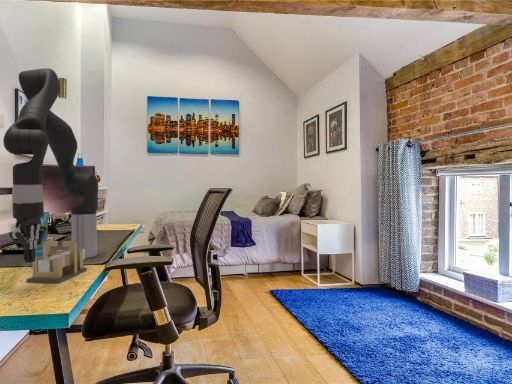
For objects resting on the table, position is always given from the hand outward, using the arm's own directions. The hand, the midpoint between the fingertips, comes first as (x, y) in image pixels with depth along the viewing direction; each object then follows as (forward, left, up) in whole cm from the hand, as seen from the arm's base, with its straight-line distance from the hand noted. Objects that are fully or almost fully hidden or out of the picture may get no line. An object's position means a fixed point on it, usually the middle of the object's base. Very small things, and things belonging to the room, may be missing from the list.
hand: (29, 261), depth 106 cm
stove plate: (-14, 0, -8) cm, 16 cm away
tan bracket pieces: (-14, 0, -6) cm, 16 cm away
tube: (-28, -17, -8) cm, 33 cm away
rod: (-16, 0, -5) cm, 17 cm away
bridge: (-15, 0, -8) cm, 17 cm away
